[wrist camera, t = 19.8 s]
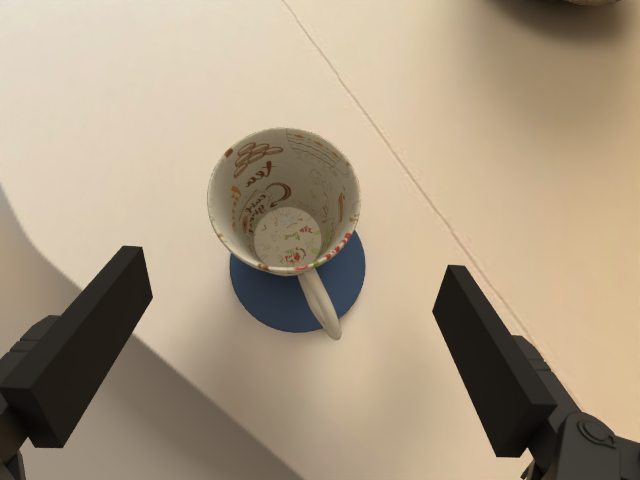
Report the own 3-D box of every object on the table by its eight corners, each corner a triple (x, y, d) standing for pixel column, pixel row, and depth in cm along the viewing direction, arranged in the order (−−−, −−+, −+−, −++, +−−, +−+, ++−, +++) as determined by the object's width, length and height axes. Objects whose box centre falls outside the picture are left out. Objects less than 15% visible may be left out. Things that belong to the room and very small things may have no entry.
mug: (311, 177, 30) (320, 106, 20) (379, 310, 27) (428, 302, 18) (220, 216, 28) (182, 159, 18) (285, 360, 26) (280, 381, 16)
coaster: (243, 346, 27) (241, 347, 26) (222, 214, 29) (220, 211, 28) (377, 315, 28) (380, 315, 27) (346, 192, 30) (348, 188, 30)
